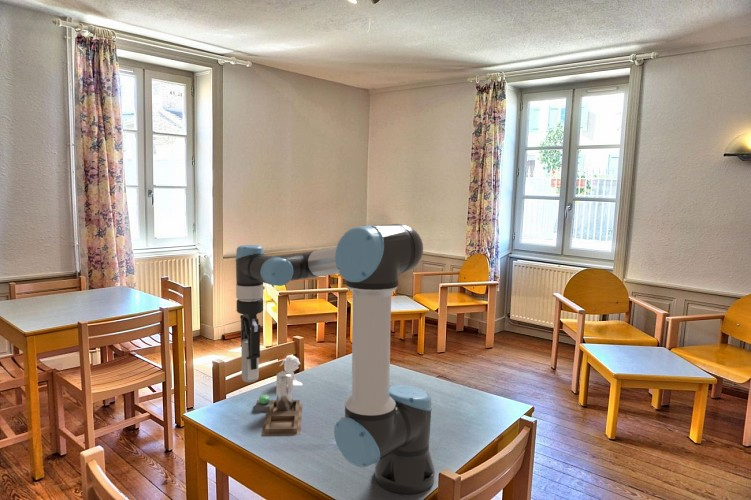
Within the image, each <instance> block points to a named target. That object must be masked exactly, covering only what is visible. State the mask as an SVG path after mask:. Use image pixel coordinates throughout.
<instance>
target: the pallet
mask: <svg viewBox="0 0 751 500" xmlns="http://www.w3.org/2000/svg"><path fill="white" fill-rule="evenodd" d="M276 400H277V399H275V400H274V399H270V401H269V403H267V404H261V403H259V399H257V400H256V403H255V408H254V409H255V411H254V412H266V413H265V417H264V421H263V426H262V431H261V436H283V435H285V436H287V435H288V436H289V435H291V436H293V435H301V433H302V418H303V417H302V415H303V403H300V399H293V411H277V412H276Z"/></svg>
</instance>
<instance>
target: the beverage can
mask: <svg viewBox="0 0 751 500" xmlns="http://www.w3.org/2000/svg"><path fill="white" fill-rule="evenodd" d="M246 357H249V351H248V339H243V340H242V347H241V380H242V381H243V382H245V383H254V382H256V381H257V380H258V379H259V368H260V367H259V364H260V363H259V361H260V360H258V379H254V380H248V359H246Z"/></svg>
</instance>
